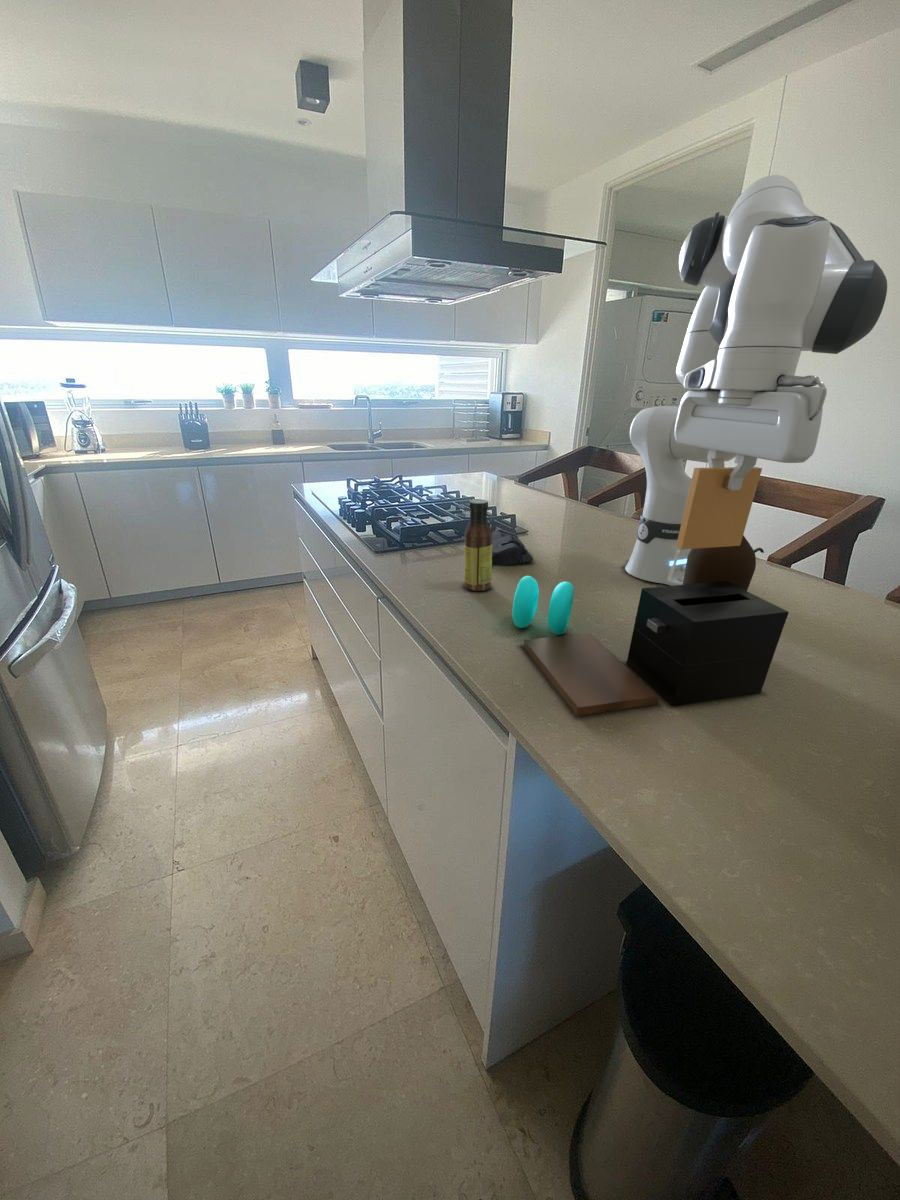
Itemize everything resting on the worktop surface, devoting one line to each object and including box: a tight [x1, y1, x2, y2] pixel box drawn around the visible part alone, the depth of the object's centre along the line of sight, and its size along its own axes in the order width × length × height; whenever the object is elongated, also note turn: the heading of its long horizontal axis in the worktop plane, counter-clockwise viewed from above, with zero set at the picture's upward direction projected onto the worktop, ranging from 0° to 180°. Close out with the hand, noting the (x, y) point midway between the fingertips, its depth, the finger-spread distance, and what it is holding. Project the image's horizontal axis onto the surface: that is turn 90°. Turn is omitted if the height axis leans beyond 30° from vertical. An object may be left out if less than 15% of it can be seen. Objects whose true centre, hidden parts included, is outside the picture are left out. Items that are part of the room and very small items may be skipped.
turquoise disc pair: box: [511, 575, 575, 636], centre depth 91 cm, size 10×10×10 cm
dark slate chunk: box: [492, 529, 534, 566], centre depth 134 cm, size 15×22×5 cm
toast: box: [676, 466, 763, 549], centre depth 67 cm, size 10×1×11 cm, turn 105°
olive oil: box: [683, 534, 757, 592], centre depth 86 cm, size 11×11×25 cm
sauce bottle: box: [463, 498, 493, 592], centre depth 107 cm, size 7×6×20 cm
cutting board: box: [523, 632, 659, 717], centre depth 79 cm, size 13×20×2 cm, turn 14°
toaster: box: [625, 581, 790, 707], centre depth 76 cm, size 18×12×14 cm
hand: (723, 487), depth 66 cm, fingers closed on toast, 1 cm apart
